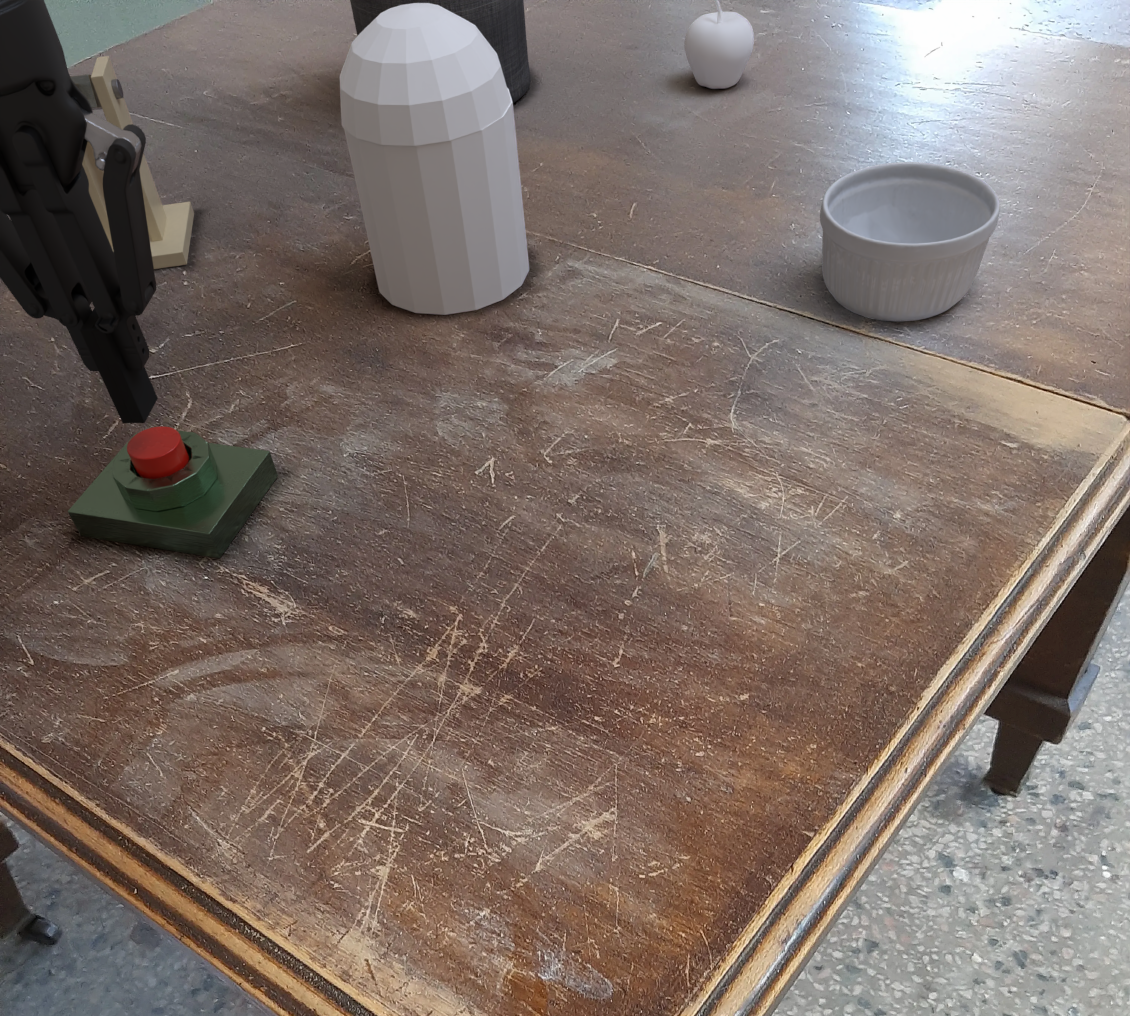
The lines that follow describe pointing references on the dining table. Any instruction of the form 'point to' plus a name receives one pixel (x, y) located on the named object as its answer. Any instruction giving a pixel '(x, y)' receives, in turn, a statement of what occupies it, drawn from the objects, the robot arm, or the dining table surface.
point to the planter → (496, 15)
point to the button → (157, 452)
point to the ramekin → (905, 238)
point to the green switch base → (177, 499)
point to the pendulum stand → (163, 221)
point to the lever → (87, 89)
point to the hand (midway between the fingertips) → (140, 410)
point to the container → (434, 161)
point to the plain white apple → (719, 48)
